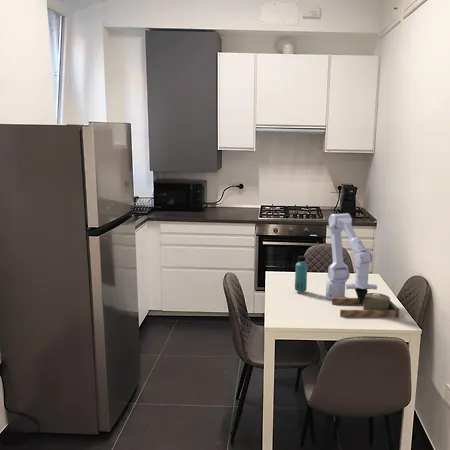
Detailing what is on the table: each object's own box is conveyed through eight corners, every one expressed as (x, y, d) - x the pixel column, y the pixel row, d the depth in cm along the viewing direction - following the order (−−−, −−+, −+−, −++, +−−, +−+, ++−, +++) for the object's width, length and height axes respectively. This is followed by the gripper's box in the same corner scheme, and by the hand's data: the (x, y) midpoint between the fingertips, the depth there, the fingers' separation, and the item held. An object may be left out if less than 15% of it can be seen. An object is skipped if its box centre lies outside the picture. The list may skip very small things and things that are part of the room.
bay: (340, 316, 209) (341, 308, 209) (331, 303, 227) (332, 295, 226) (398, 317, 209) (399, 309, 209) (385, 303, 227) (385, 296, 226)
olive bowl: (363, 313, 214) (364, 299, 212) (362, 305, 225) (363, 291, 224) (390, 316, 210) (391, 302, 209) (388, 307, 222) (389, 294, 221)
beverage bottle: (305, 290, 247) (306, 254, 244) (307, 294, 241) (309, 257, 237) (293, 290, 247) (294, 254, 244) (295, 294, 241) (296, 257, 237)
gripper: (348, 278, 211) (347, 306, 214) (380, 278, 211) (378, 306, 214) (345, 274, 218) (343, 301, 221) (375, 274, 218) (373, 301, 221)
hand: (360, 303), depth 218 cm, fingers closed
